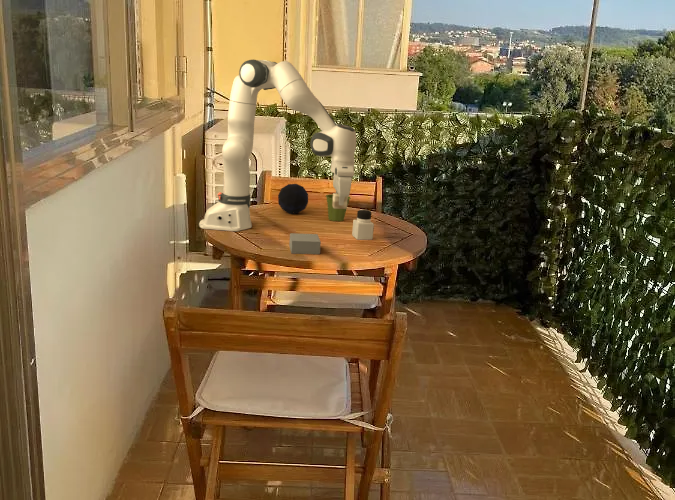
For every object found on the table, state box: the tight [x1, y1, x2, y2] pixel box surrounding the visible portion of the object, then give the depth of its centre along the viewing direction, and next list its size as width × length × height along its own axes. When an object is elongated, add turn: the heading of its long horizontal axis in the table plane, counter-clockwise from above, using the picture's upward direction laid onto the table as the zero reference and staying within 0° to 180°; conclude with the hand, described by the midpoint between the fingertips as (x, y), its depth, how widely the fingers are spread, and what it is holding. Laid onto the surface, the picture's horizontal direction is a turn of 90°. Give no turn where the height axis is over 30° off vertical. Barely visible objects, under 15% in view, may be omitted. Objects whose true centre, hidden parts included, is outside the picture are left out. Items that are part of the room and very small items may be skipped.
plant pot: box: [325, 193, 352, 222], centre depth 299 cm, size 12×12×11 cm
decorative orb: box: [277, 183, 309, 215], centre depth 306 cm, size 14×15×15 cm
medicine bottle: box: [351, 209, 375, 241], centre depth 271 cm, size 7×7×12 cm
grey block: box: [288, 232, 321, 255], centre depth 248 cm, size 11×11×5 cm
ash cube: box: [332, 192, 348, 210], centre depth 247 cm, size 5×5×5 cm
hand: (339, 203), depth 248 cm, fingers closed on ash cube, 5 cm apart
